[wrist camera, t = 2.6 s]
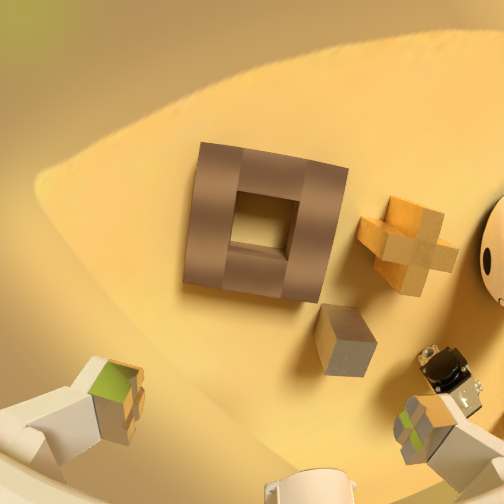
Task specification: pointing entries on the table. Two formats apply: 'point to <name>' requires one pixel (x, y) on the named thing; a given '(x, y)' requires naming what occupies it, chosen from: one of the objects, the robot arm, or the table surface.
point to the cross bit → (407, 245)
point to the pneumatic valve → (451, 377)
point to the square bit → (343, 341)
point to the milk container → (494, 253)
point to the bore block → (254, 256)
